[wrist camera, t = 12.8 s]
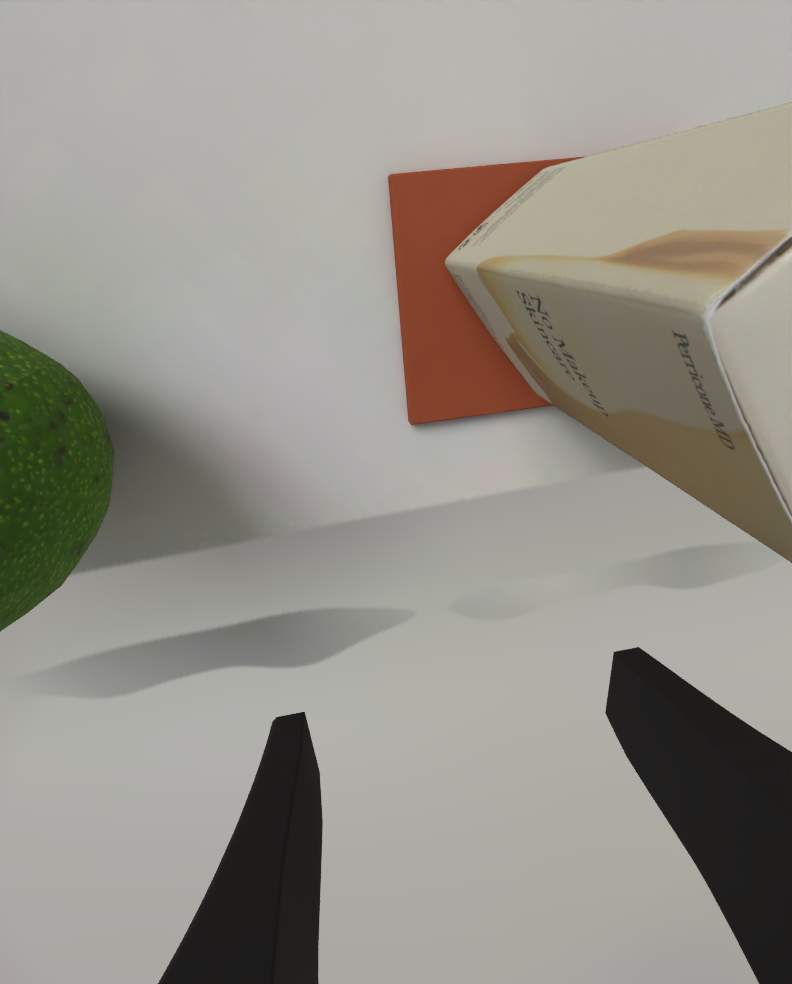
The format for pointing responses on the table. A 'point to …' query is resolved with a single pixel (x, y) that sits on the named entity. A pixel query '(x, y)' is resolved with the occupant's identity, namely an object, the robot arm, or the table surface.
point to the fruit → (46, 475)
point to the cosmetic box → (660, 306)
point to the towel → (451, 293)
